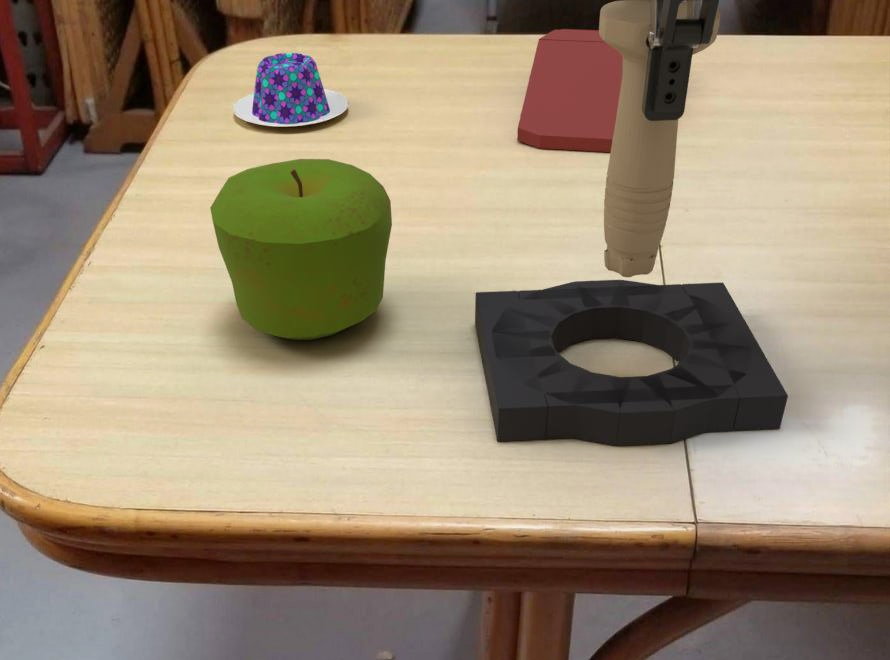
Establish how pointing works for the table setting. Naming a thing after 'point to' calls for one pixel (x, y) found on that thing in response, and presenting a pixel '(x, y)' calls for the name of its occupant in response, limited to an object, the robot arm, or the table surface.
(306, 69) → the pudding
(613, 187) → the handle
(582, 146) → the red chamfered slab
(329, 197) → the apple
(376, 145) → the table surface
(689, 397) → the black plate with hole
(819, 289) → the table surface
